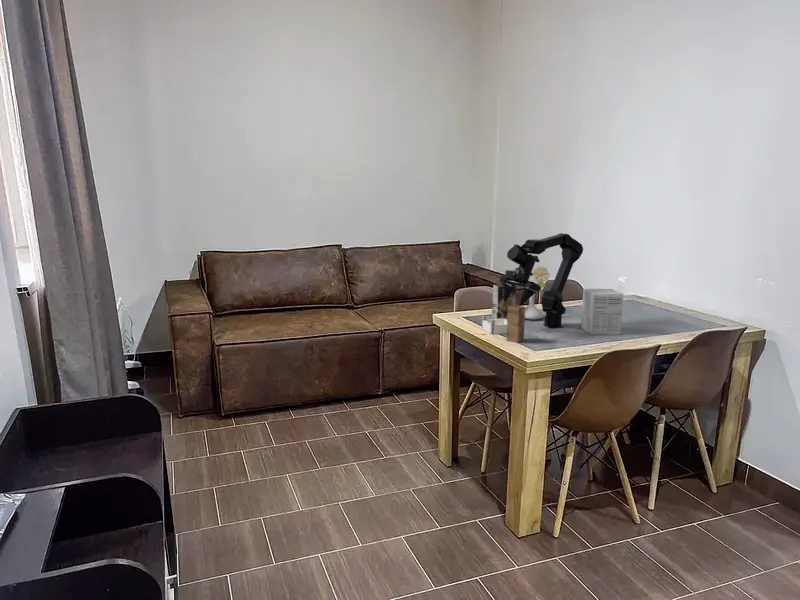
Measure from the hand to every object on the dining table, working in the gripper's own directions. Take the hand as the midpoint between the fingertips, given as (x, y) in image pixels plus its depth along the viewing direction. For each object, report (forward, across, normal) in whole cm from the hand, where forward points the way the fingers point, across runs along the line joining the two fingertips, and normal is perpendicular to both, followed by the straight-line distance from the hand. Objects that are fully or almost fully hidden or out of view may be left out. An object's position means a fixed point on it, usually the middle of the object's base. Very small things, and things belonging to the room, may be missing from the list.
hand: (512, 303), depth 250 cm
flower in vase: (0, -16, +32) cm, 36 cm away
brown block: (+15, +8, 0) cm, 17 cm away
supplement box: (-3, +17, +39) cm, 43 cm away
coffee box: (+5, -22, +21) cm, 31 cm away
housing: (+12, -8, +6) cm, 15 cm away
